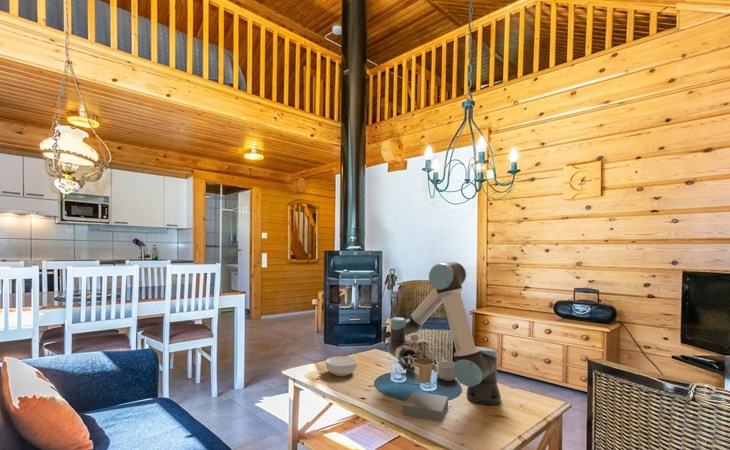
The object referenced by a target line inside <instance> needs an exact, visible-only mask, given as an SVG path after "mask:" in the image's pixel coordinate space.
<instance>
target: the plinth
mask: <svg viewBox="0 0 730 450" xmlns="http://www.w3.org/2000/svg"><path fill="white" fill-rule="evenodd" d="M448 407H449V397H448V396H445V395H439V394H434V393H427V392H421V391H420V392H419V391H414V390H412V391H411V393H410V395H409V396H408V397H407V399H406V400H405V402H404V404H403V406H402V409H403V411H402V412H403V413H402V415H403V416H408V417H414V418H417V419H424V420H429V421H434V422H441V423H442V422H443V419H444V417H445V415H446V412H447V409H448Z"/></svg>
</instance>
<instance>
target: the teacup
mask: <svg viewBox="0 0 730 450" xmlns="http://www.w3.org/2000/svg"><path fill="white" fill-rule="evenodd" d="M455 363H456V361H452V360H451V361H450V360H446V359H443V360H441V361H438V362H436V365H437V366H439V373H437V375H438V377H439V378H440V379H441V380H442V381H446V382H452V381H454V380H455V379H456V377H455V375H454V365H455Z"/></svg>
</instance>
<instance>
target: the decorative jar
mask: <svg viewBox="0 0 730 450" xmlns="http://www.w3.org/2000/svg"><path fill="white" fill-rule="evenodd" d="M405 346H407V347H409V348H410V349H412V350H413V351H414V352H415V353H416V355H418V356H420V357H422V355H425V356H426V357H429V358H430V355H429V354H430V353H429V352H430V351H429V346H430V345H429V343H428V342H427V341H426V339H424V338H422V337H420V336H419V335H418V334H411V335H410V336H408V337H405ZM406 370H408V368H406Z"/></svg>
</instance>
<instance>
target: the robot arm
mask: <svg viewBox="0 0 730 450" xmlns="http://www.w3.org/2000/svg"><path fill="white" fill-rule="evenodd" d="M466 279H467V272H466V269H465V267H464V266H463V265H462V264H460V263H459V262H456V261H455V262H454V261H451V262H440V263H436V264H435V265H433V266H432V267H431V269H430V271H429V272H428V280H429V283H430V285H431V286H432V287H433V289H432V290H431V292H430V293H429V294H428V295H427V296H426V297H425V298H424V300H422V301H421V303H420V304H419V305H418V306H417V307H416V309H414V311H413V312H412V313H411V315H410V316H409V317H408V318H404V317H399V316H397V317H396V316H395V317H392V318H391V320H390V327H389V328H390V339H389V342H388V344H387V352H388V353H389V354H390V356H393V357H394V358H396V359H397V363H398V364H399V365H400V366H401V367H402V369H403V370H407V372H413V373H414V374H415V373H416V374H417V375H419V368H418V367H417V366H415V365H414V364H413V362H412V360H413V359H415V358H428V359H431V360H433V361H434V364H433V367H432V371H433V372H435V373H437V374H438V373H439V366H437V360H435V359H433V358H430V356H429V357H426V356H425V355H422V357H420V356H418V355H416V353H415V352H414V351H413V350H412V349H410V348H409V347H407V346H405V338H406V336H408V335H410V334H411V335H412V334H413V333H417V332H418V331H420V330H421V329H422V327H423V325H424V324H425V322H426V321H427V320H428V319H429V317H430V316H432V314H434V312H435V311H436V310H437V309H438V308H439V307H440V305H442V304H443V307H444V310H445V314H446V318H447V320H448V326H449V329H450V333H451V336H452V340H453V343H454V348H455V352H454V353H453V357H454V360H455V361H454V362H455V365H454V375H455V377H456V378H455V379H456V381H458V382H459V383H461V384H462V386H465V387H467V389H466V398H467V399H468V401H471V402H473V403H475V404H479V405H483V406H495V405H498V404H499V403H501V400H502V399H501V398H502V396H501V392H500V389H499V386H498V380H497V379H498V378H497V377H498V355H497V351H496V350H494V349H493V348H489V347H484V346H476V345H475V344H476V343H475V341H474V338H473V335H472V330H471V326H470V323H469V319H468V317H467V316H468V315H467V313H466V308H465V305H464V302H463V298H462V295H461V292H462V290H463V286H462V285H463V284H464V283H465V281H466ZM407 368H408V369H407Z"/></svg>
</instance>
